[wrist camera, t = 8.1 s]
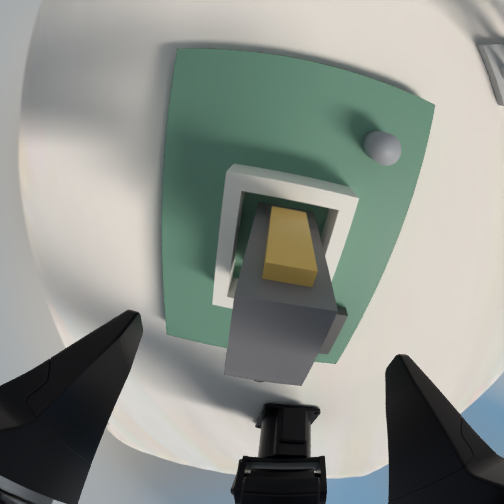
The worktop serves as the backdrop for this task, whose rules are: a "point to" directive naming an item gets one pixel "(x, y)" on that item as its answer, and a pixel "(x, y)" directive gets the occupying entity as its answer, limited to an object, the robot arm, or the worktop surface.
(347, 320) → the board
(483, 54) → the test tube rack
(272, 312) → the plug
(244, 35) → the worktop surface
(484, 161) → the worktop surface
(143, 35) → the worktop surface
